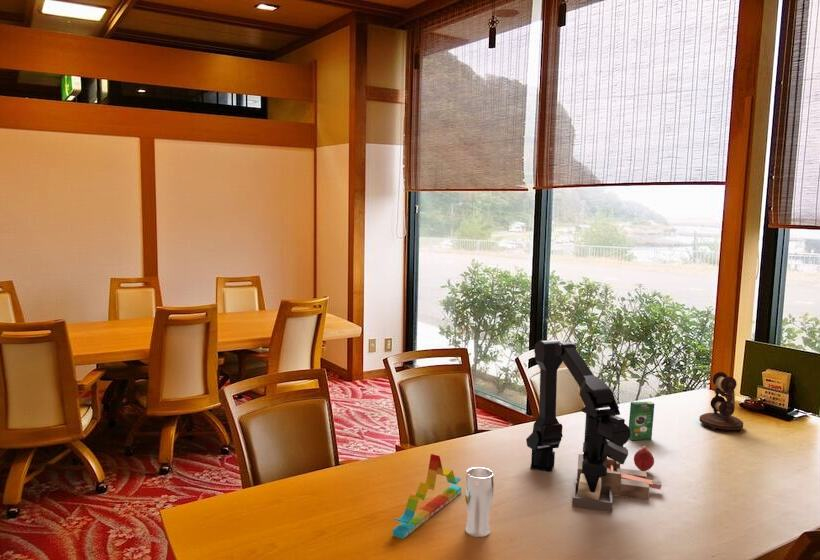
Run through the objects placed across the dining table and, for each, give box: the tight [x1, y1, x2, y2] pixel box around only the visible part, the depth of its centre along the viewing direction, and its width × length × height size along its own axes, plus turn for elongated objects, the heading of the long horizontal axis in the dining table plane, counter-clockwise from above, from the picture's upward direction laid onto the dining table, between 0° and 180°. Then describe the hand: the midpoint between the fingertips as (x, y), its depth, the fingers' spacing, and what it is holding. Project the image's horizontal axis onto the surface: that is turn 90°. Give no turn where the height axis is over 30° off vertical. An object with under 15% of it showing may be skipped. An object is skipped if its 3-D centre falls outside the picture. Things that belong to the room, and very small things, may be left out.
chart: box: [392, 453, 462, 540], centre depth 168 cm, size 30×3×15 cm, turn 148°
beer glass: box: [464, 466, 495, 538], centre depth 159 cm, size 7×7×15 cm
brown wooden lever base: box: [576, 453, 650, 501], centre depth 187 cm, size 19×12×6 cm, turn 74°
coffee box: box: [628, 401, 656, 441], centre depth 226 cm, size 8×3×13 cm, turn 103°
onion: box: [633, 445, 655, 472], centre depth 198 cm, size 6×6×8 cm
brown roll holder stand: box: [698, 371, 744, 432], centre depth 241 cm, size 15×15×20 cm
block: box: [578, 474, 601, 500], centre depth 177 cm, size 6×6×4 cm
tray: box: [571, 481, 614, 513], centre depth 177 cm, size 10×10×3 cm
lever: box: [607, 465, 663, 490], centre depth 186 cm, size 20×7×2 cm, turn 74°
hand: (592, 487), depth 177 cm, fingers closed on block, 5 cm apart
